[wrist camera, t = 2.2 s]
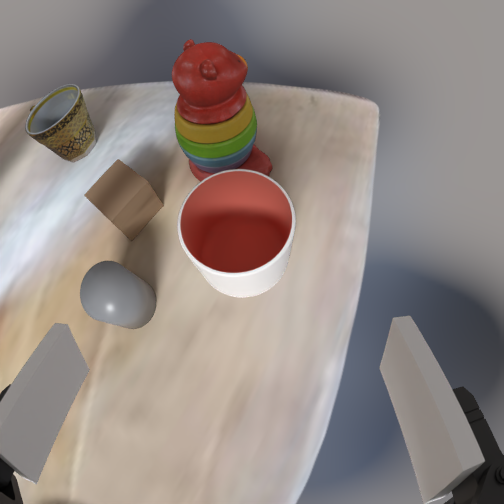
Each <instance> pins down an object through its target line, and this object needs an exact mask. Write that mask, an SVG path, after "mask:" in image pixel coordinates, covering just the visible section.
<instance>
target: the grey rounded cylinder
mask: <svg viewBox="0 0 504 504" xmlns="http://www.w3.org/2000/svg"><path fill="white" fill-rule="evenodd" d="M80 298H81V303H82V306H83V308H84V310H85V311H86V313H87V314H88V315H89V316H90V317H92V318H93V319H95V320H98V321H102V322H106V323H109V324H113V325H117V326H121V327H125V328H129V329H137V328H140V327H142V326H144V325H146V324H147V323H148V322H149V321H150V320H151V318H152V317H153V315H154V312H155V309H156V296H155V293H154V291H153V289H152V287H151V286H150V285H149V284H148V283H147V282H145V281H144V280H142V279H141V278H139V277H138V276H136V275H135V274H133V273H132V272H130V271H129V270H127V269H126V268H125V267H123V266H122V265H120V264H119V263H117V262H114V261H103V262H100V263H97V264H96V265H94V266H93V267H92V268H91V269H89V271H88V272H87V273H86V275H85V276H84V278H83V281H82V284H81V289H80Z"/></svg>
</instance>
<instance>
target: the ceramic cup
mask: <svg viewBox="0 0 504 504" xmlns="http://www.w3.org/2000/svg"><path fill="white" fill-rule="evenodd" d="M30 111H31V113H30V114H29V116H28V119H27V121H26V125H25V129H26V132H27V133H28V134H29V135H30V136H31V137H32V138H34V139H35V140H36V141H38V142H39V143H41V144H43V145H45V146H46V147H47V148H49V149H50V150H52V151H53V152H54V153H56V154H57V155H59V156H60V157H61V158H63V159H65V160H68V161H71V162H76V161H78V160H80V159H82V158H83V157H85V156H87V155H88V154H89V153H90V151H91V150H92V148H93V147H94V146H95V144H96V137H95V130H94V127H93V125H92V122H91V120H90V117H89V114H88V112H87V109H86V105H85V101H84V98H83V95H82V93H81V91H80V89H79V87H78V86H77V85H74V84H68V85H64V86H61V87H59V88H57V89H55V90H53V91H52V92H50V93H49V94H47V95H46V96H45V97H44V98H42V99H41V100H40V101H39V102H38V103H37V105H36V106H33V107H32V108H31V109H30Z"/></svg>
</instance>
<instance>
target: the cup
mask: <svg viewBox="0 0 504 504" xmlns="http://www.w3.org/2000/svg"><path fill="white" fill-rule="evenodd" d="M295 225H296V217H295V211H294V207H293V204H292V201H291V199H290V197H289V196H288V194H287V192H286V191H285V190H284V189H283V188H282V186H281V185H280V184H278V183H277V182H276V181H275V180H273V179H272V178H270V177H268V176H266V175H264V174H262V173H259V172H256V171H252V170H246V169H233V170H226V171H222V172H219V173H216V174H213V175H211V176H209V177H207V178H206V179H204V180H203V181H201V182H200V183H198V184H197V185H196V186H195V187H194V188H193V189H192V190H191V191H190V193H189V194H188V195H187V197H186V198H185V200H184V202H183V204H182V206H181V209H180V212H179V216H178V224H177V226H178V236H179V240H180V243H181V245H182V247H183V249H184V251H185V253H186V254H187V255H188V257H189V258H190V259H191V261H192V262H193V263H194V265H195V266H196V267H197V269H198V270H199V271H200V272H201V274H202V275H203V276H204V278H205V279H206V280H207V281H208V283H209V284H210V285H211V286H213V287H214V288H215V289H216V290H218V291H220V292H222V293H224V294H226V295H229V296H233V297H252V296H256V295H259V294H261V293H264V292H266V291H267V290H269V289H270V288H272V287H273V286H274V285H275V284H276V283H277V282H278V281H279V280H280V278H281V277H282V275H283V274H284V272H285V270H286V267H287V264H288V260H289V256H290V251H291V246H292V241H293V237H294V232H295Z"/></svg>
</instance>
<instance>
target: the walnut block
mask: <svg viewBox="0 0 504 504" xmlns="http://www.w3.org/2000/svg"><path fill="white" fill-rule="evenodd" d="M84 196H85V197H86V198H87V199H88V200H89V201H90V202H91V203H93V204H94V205H95V206H96V207H97V208H98V209H99V210H100V211H101V212H102V213H103V214H104V215H105V216H106V217H107V218H108V219H109V220H110V221H111V222H112V223H113V224H114V225H115V226H116V227H117V228H118V229H119V230H121V231H122V232H123V233H124V234H125V235H126V236H127V237H128V238H129V239H130V240H131V241H132V240H133V239H134V238H135V237H136V236H137V235H138V234H139V232H140V231H141V230H142V229H143V228H144V227H145V226H146V224H147V223H148V222H149V221H150V220H151V219H152V218H153V217H154V216H155V214H156V213H157V212H158V211H159V210H160V209H161V208H162V207H163V204H162V202H161V201H160V199H159V198H158V196H157V195H156V193H155V192H154V190H153V188H152V187H151V185H150V184H149V182H148V181H147V180H145V179H144V178H143V177H141V176H140V175H139V174H137V173H136V172H135V171H133V170H132V169H131V168H129V167H128V166H127V165H125V164H124V163H123V162H122V161H120V160H119V159H118V160H117V161H116V162H115V163H114V164H113V165H112V166H111V167H110V168H109V169H108V170H107V171H106V172H105V173H104V174H103V175H102V176H101V177H100V178H99V179H98V181H97V182H96V183H95V184H94V185H93V186H92V187H91V188H90V189H89V190H88V192H87V193H86V194H85V195H84Z"/></svg>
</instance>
